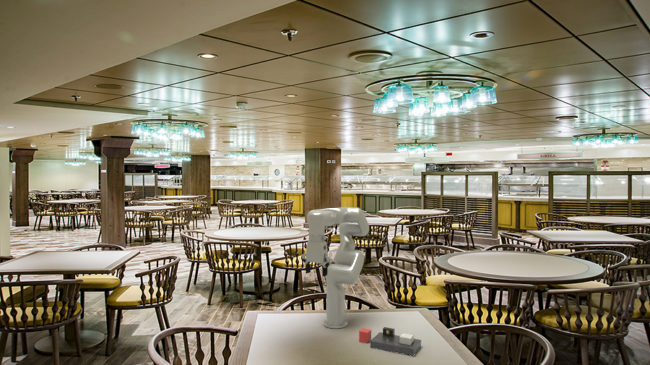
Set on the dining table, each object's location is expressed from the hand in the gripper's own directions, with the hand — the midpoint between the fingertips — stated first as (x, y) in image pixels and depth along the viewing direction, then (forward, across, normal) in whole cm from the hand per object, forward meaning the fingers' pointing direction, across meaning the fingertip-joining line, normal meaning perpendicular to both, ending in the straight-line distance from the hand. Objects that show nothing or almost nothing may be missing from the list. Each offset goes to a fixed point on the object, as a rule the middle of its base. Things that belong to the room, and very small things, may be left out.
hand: (316, 274), depth 201 cm
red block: (+31, -20, -12) cm, 39 cm away
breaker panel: (+31, -35, -14) cm, 49 cm away
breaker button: (+28, -40, -14) cm, 51 cm away
